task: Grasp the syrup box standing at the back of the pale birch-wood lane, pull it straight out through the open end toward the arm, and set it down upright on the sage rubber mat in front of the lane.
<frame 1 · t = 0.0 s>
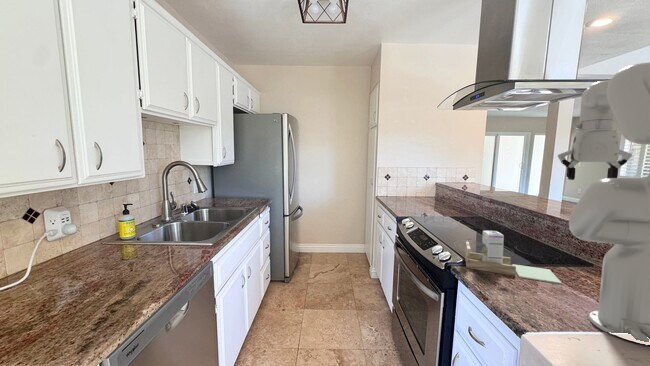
hand: (590, 180, 83), 37 cm above the worktop, tool pointing down, fingers open, 9 cm apart
syrup box: (491, 267, 103), resting in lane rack
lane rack: (488, 266, 103), on the worktop
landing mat: (534, 273, 97), on the worktop
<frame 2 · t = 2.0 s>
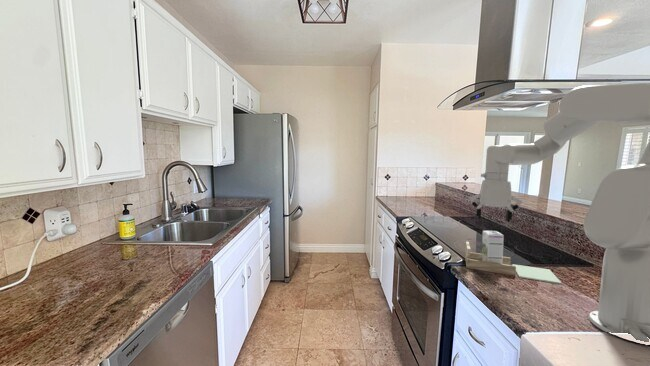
hand: (493, 219, 101), 20 cm above the worktop, tool pointing down, fingers open, 9 cm apart
nothing on the worktop moved.
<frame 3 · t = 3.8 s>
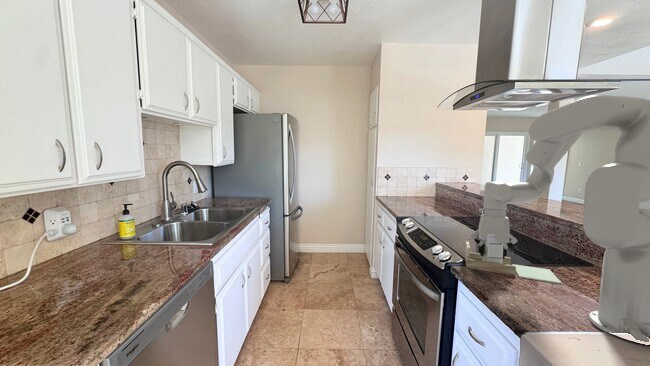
hand: (491, 255, 102), 5 cm above the worktop, tool pointing down, fingers closed on syrup box, 6 cm apart
syrup box: (491, 267, 103), resting in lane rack, touching gripper
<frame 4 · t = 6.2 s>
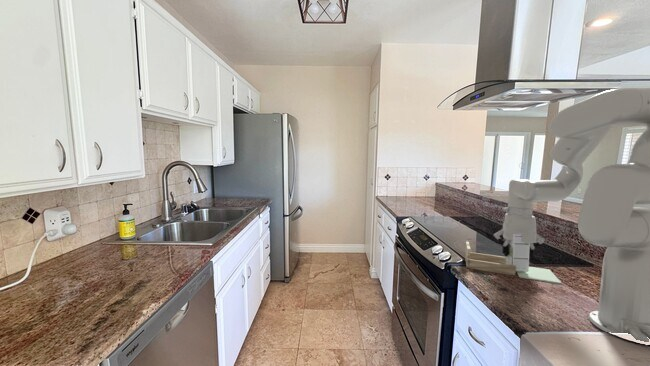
hand: (517, 256, 98), 6 cm above the worktop, tool pointing down, fingers closed on syrup box, 6 cm apart
syrup box: (516, 268, 99), point 1 cm above the worktop, touching gripper
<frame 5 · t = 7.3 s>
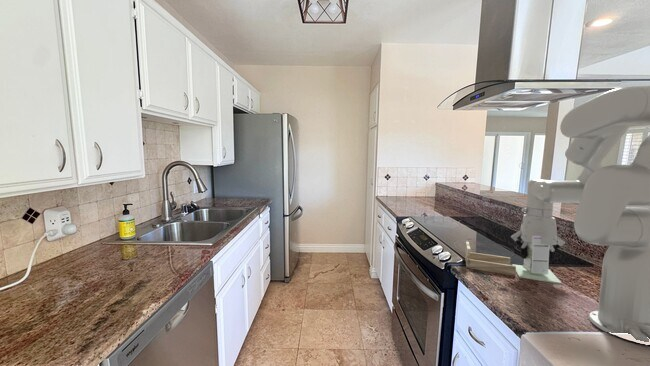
hand: (535, 258, 96), 6 cm above the worktop, tool pointing down, fingers closed on syrup box, 6 cm apart
syrup box: (534, 271, 96), point 1 cm above the worktop, touching gripper
when the fingers open (6 cm above the worktop, at t = 8.5 s): syrup box stays where it is, resting on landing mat.
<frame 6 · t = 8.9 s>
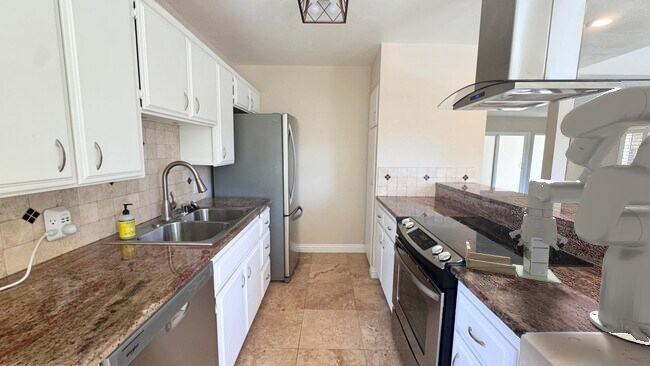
hand: (536, 257, 96), 7 cm above the worktop, tool pointing down, fingers open, 9 cm apart
syrup box: (534, 273, 96), resting on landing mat
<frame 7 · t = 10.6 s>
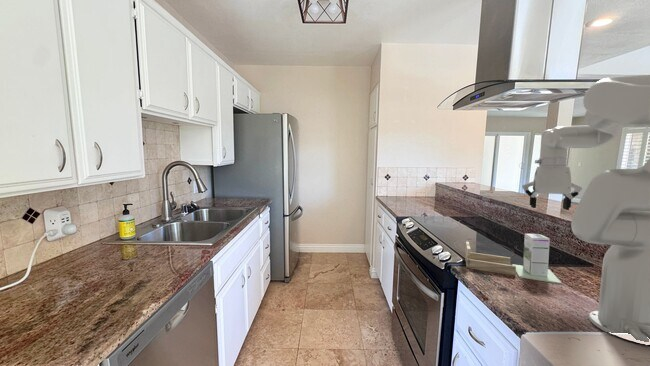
hand: (549, 208, 96), 25 cm above the worktop, tool pointing down, fingers open, 9 cm apart
nothing on the worktop moved.
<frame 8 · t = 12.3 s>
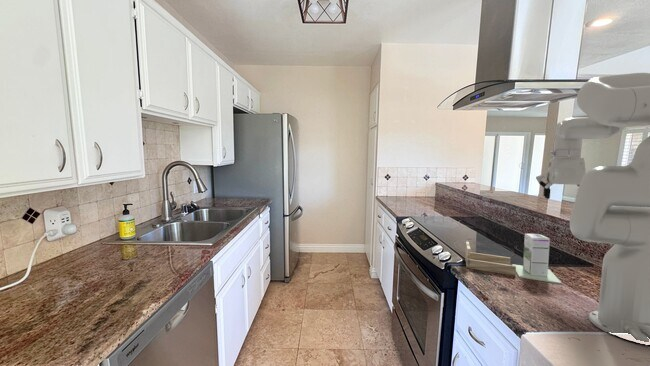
hand: (563, 199, 97), 28 cm above the worktop, tool pointing down, fingers open, 9 cm apart
nothing on the worktop moved.
at the end: syrup box inside the target area on the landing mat (0.3 cm from its centre), point 0.3 cm above the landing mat's base; syrup box tilted 0°; the gripper is holding nothing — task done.
